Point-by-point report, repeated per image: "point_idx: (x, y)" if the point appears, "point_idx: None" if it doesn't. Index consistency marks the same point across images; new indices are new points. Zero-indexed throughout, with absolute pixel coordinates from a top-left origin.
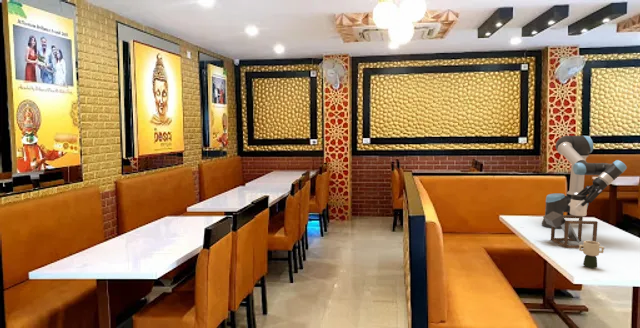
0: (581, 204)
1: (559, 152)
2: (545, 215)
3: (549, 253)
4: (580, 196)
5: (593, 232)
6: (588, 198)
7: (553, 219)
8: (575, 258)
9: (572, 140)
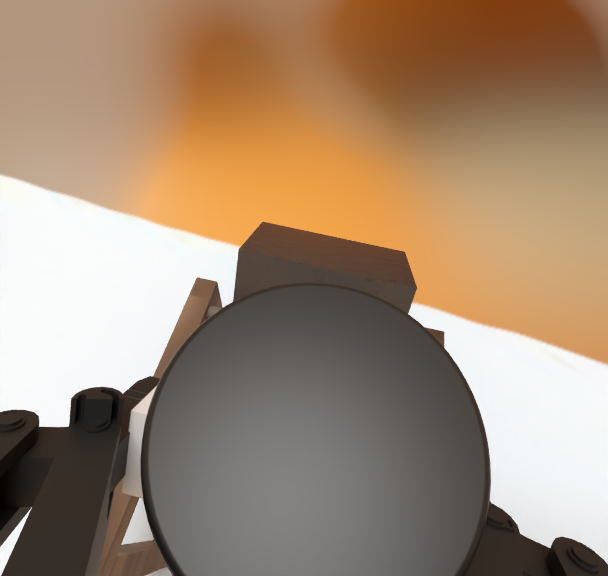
0: (158, 378)
1: None
2: (403, 258)
3: (161, 235)
4: (185, 342)
5: (133, 547)
6: (8, 441)
7: (265, 227)
8: (54, 283)
9: None
